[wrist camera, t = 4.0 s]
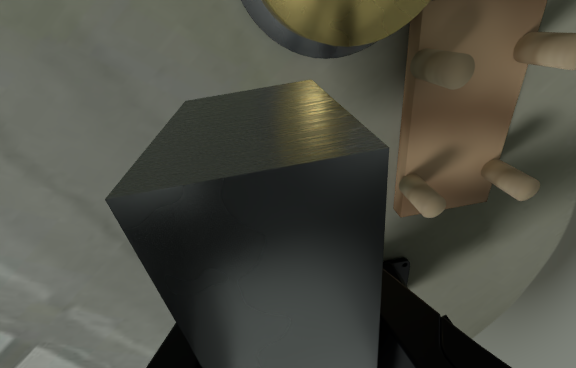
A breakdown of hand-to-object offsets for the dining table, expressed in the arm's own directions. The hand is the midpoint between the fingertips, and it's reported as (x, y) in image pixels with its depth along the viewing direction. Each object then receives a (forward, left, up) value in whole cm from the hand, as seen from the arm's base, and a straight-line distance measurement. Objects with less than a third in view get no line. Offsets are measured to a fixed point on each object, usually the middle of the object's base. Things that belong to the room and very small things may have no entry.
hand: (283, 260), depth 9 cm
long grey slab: (0, 0, -1) cm, 1 cm away
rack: (-1, -13, -11) cm, 17 cm away
